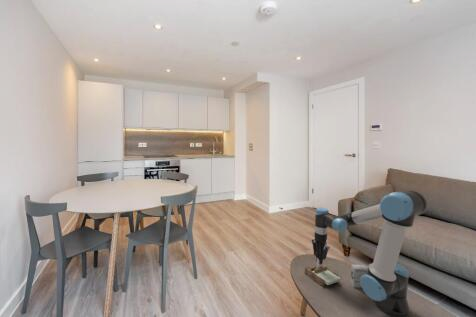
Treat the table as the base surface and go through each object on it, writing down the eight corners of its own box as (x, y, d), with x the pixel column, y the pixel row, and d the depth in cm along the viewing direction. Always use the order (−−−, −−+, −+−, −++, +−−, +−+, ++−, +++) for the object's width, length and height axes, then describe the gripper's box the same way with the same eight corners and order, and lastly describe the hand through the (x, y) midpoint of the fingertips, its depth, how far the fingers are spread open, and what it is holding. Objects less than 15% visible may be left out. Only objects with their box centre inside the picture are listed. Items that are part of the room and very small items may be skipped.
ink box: (364, 283, 135) (365, 265, 134) (368, 288, 131) (369, 269, 130) (349, 282, 136) (351, 263, 135) (353, 287, 131) (354, 268, 130)
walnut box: (338, 281, 137) (338, 274, 136) (322, 287, 131) (323, 280, 131) (319, 268, 150) (319, 262, 150) (304, 273, 144) (305, 267, 144)
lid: (340, 280, 134) (340, 274, 133) (328, 285, 129) (328, 279, 129) (324, 269, 145) (324, 264, 145) (311, 273, 140) (312, 267, 140)
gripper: (333, 235, 136) (331, 272, 138) (317, 227, 147) (315, 261, 149) (324, 237, 133) (322, 275, 134) (308, 229, 144) (307, 264, 146)
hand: (319, 268), depth 142 cm, fingers closed
